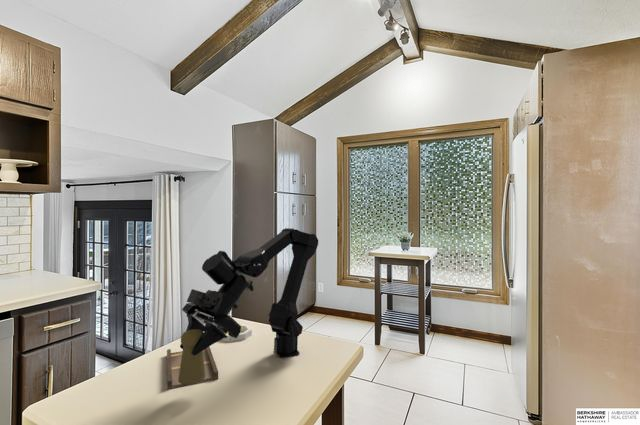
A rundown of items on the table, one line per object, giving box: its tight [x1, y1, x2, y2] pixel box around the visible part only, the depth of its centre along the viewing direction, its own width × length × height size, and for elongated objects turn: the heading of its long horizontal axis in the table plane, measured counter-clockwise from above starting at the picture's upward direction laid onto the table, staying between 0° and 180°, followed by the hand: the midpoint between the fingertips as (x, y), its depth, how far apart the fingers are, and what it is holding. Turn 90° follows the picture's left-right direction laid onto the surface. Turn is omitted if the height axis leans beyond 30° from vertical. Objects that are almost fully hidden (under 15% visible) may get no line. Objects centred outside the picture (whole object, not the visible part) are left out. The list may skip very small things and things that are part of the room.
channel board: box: [166, 346, 219, 390], centre depth 89 cm, size 12×21×2 cm, turn 26°
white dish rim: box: [220, 323, 253, 343], centre depth 114 cm, size 12×12×2 cm
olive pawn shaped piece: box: [178, 329, 206, 385], centre depth 74 cm, size 6×6×11 cm
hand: (186, 351), depth 73 cm, fingers closed on olive pawn shaped piece, 5 cm apart
